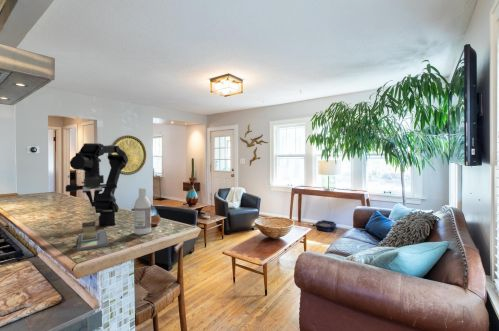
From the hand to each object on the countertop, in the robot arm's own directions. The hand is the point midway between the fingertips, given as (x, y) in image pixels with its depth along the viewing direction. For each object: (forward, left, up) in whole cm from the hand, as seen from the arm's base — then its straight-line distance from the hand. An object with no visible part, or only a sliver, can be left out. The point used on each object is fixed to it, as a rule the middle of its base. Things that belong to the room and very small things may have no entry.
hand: (93, 206), depth 108 cm
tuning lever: (+2, +13, -10) cm, 17 cm away
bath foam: (-18, +10, -12) cm, 24 cm away
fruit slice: (-24, 0, -12) cm, 27 cm away
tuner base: (0, +11, -12) cm, 16 cm away
